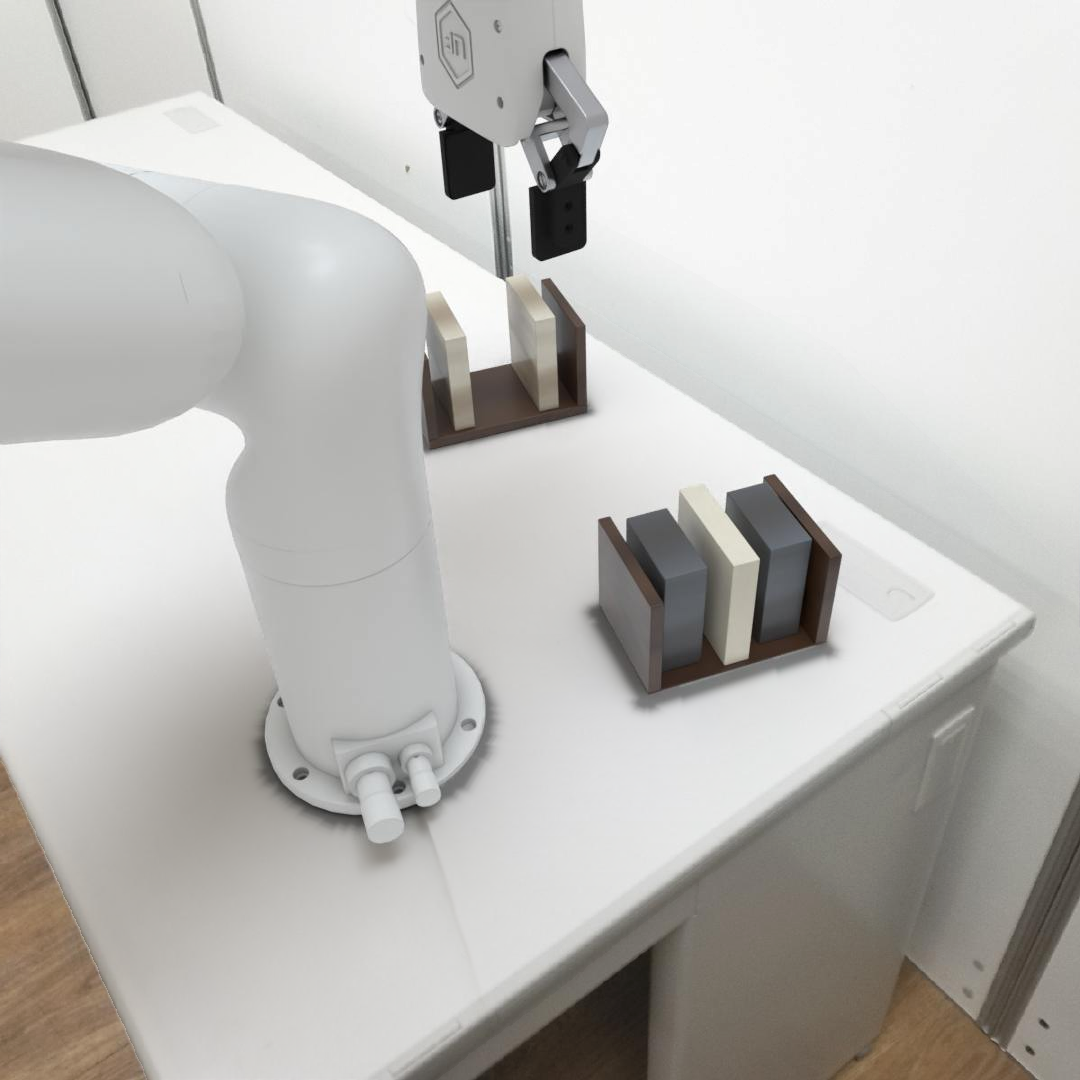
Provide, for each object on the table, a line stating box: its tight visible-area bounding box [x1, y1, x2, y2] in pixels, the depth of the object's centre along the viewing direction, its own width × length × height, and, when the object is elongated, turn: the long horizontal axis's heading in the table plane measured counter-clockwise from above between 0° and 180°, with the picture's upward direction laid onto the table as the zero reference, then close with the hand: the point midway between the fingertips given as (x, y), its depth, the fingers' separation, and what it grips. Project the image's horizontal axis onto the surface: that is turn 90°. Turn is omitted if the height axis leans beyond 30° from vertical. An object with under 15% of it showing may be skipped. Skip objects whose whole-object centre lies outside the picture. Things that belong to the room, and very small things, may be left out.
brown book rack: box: [421, 273, 588, 450], centre depth 86 cm, size 8×13×9 cm, turn 109°
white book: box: [677, 483, 760, 666], centre depth 66 cm, size 7×2×8 cm, turn 19°
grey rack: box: [597, 473, 843, 695], centre depth 66 cm, size 8×12×8 cm
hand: (512, 221), depth 63 cm, fingers open, 9 cm apart
